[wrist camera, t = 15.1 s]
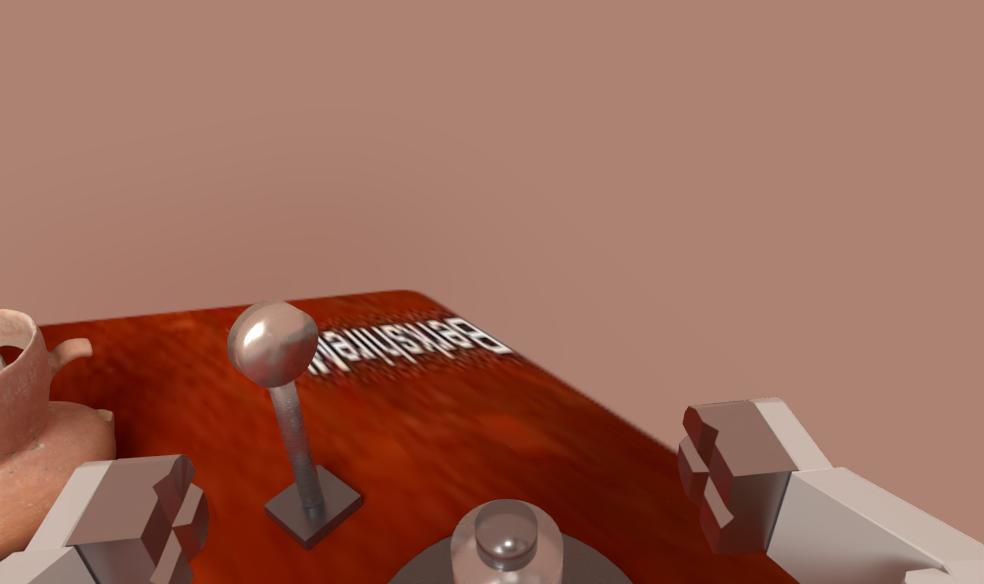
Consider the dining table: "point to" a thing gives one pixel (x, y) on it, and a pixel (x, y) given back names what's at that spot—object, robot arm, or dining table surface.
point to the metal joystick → (290, 416)
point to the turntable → (584, 574)
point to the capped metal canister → (507, 545)
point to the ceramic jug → (40, 430)
